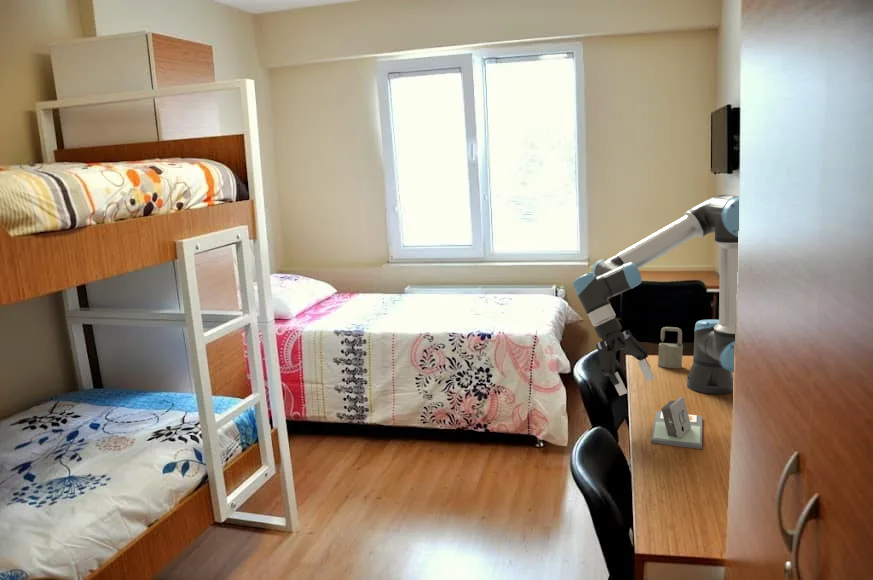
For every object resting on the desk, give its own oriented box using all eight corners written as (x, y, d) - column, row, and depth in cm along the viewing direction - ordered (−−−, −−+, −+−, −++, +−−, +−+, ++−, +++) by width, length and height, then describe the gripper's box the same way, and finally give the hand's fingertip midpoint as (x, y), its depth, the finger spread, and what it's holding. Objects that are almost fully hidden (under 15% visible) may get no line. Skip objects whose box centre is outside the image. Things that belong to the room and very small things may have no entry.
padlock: (658, 363, 253) (660, 325, 250) (681, 366, 250) (683, 326, 247) (657, 366, 250) (659, 327, 247) (681, 369, 246) (682, 329, 243)
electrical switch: (680, 439, 183) (678, 407, 182) (661, 437, 186) (659, 404, 185) (691, 428, 190) (690, 397, 189) (673, 426, 193) (671, 395, 192)
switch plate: (656, 414, 204) (656, 409, 204) (701, 419, 200) (702, 414, 199) (650, 442, 184) (651, 437, 184) (701, 449, 180) (702, 444, 179)
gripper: (621, 316, 213) (652, 378, 209) (569, 337, 198) (602, 403, 194) (638, 307, 207) (671, 370, 203) (586, 328, 192) (620, 396, 188)
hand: (637, 387), depth 198 cm, fingers open, 13 cm apart
